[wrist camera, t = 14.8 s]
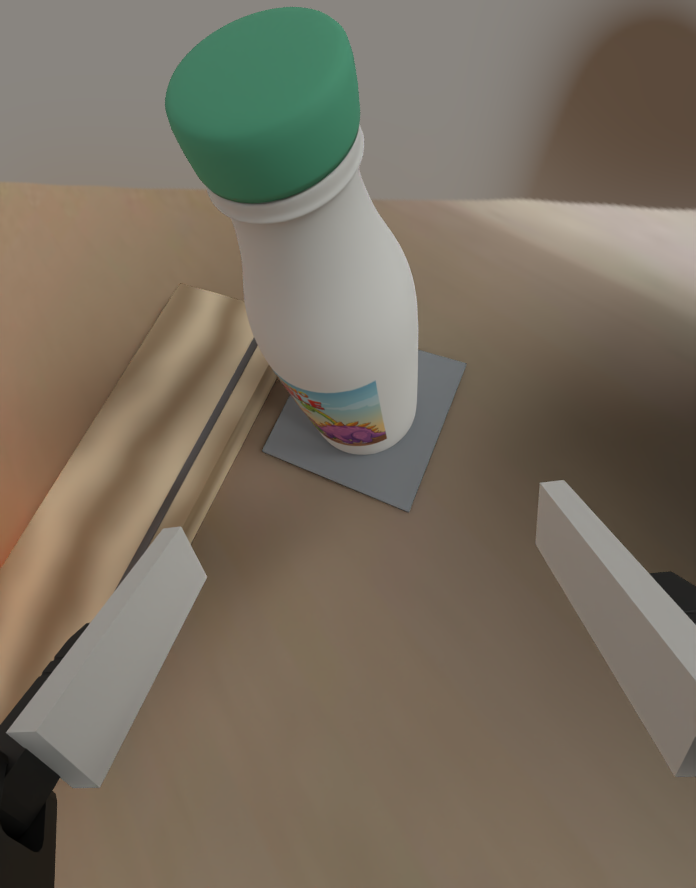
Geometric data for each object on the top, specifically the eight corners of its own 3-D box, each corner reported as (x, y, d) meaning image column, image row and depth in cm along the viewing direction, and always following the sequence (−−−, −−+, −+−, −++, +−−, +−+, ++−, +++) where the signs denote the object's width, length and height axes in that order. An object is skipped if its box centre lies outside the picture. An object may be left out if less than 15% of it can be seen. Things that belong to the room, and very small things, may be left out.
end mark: (465, 366, 27) (466, 363, 26) (408, 512, 24) (408, 511, 24) (326, 326, 30) (325, 323, 30) (263, 452, 27) (261, 450, 27)
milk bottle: (364, 345, 28) (268, -68, 9) (438, 403, 26) (510, -4, 7) (296, 412, 28) (44, 111, 9) (365, 479, 25) (221, 254, 6)
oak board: (301, 330, 30) (294, 314, 28) (82, 753, 23) (51, 772, 21) (192, 298, 33) (179, 282, 31) (-30, 661, 26) (-65, 670, 24)
